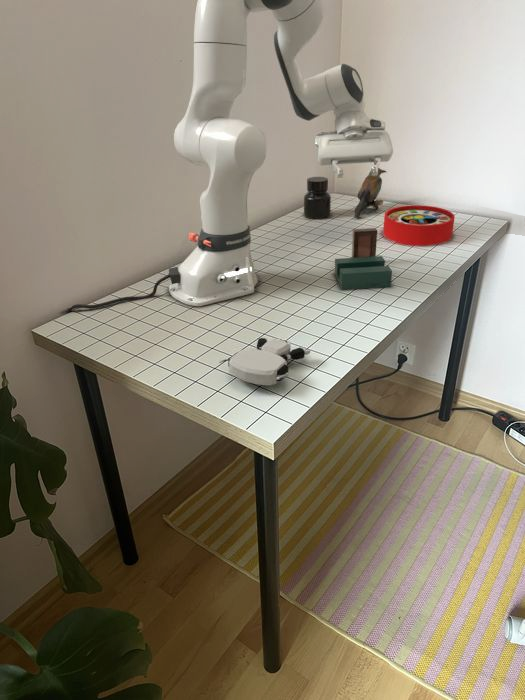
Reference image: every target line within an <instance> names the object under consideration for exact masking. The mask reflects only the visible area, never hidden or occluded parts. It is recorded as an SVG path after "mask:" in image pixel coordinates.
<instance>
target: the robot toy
mask: <svg viewBox="0 0 525 700" xmlns="http://www.w3.org/2000/svg"><path fill="white" fill-rule="evenodd" d="M291 347H292V346H291V341H290V340H285V339H282V338H271V339H268V338H267V337H259V338H258V340H257V342H256V349H255V348H245V349H241V350H239V351H236V352H235V353H234V354H233V355H231V356H229V357H228V358H225V359H220V360H219V361H218V363H219V364H222V363H224V362H227V363H228V364H227V365H228V366H227V367H228V370H229V371H228V372H229V373H230V374H231V375H232V376H234V377H235V378H237V379H239V380H241V381H243V382H245V383H248V384H249V383H250V384H255V385H259V386H272V385H276V384H277V383H280V382H282V381H283V380H284V379H285V378H286V377H289V374H290V373H289V366H288V361H289V360H294V361H298V360H302V359H304V358H305V356H308V355H310V354H311V350H310V349H308V348H307V347H296V348H294V349H292V348H291Z"/></svg>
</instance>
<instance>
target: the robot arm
mask: <svg viewBox="0 0 525 700" xmlns="http://www.w3.org/2000/svg"><path fill="white" fill-rule="evenodd" d="M265 11H271V13H272V15H273V17H274V19H275V22H276V24H277V29H276V31H275V33H274V34H273V46H274V51H275V55H276V57H277V61H278V64H279V67H280V70H281V73H282V76H283V79H284V81H285V85H286V87H287V91H288V94H289V98H290V100H291V105H292V109H293V111H294V113H295V115H296V116H297V117H298V118H300V119H302V120H305V121H312V120H314V119H315V118H318V117H319V116H321V115H324V114H325V113H328V112H331V111H332V113H333V115H334V118H335V119H334V131H321V132H320V133H318V134H316V136H315V137H314V143H315V146H316V147H317V163H318V164H319V165H320V166H331V169H332V170H333V171H334V173H336V178H337V179H340V178H344V169H343V168H340V167H339V165H351V164H369V163H373V165H374V166H372V167H371V169H370V171H371V173H372V174H371V175H372V176H377V175H378V168H379V166H380V164H381V163H383V162H384V163H387V162H389V161H390V160H391V158H392V156H393V154H394V148H393V143H392V139H391V136H390V134H389V132H388V131H386V122H385V121H384V120H380V119H376V118H371V117H369V116H367V114H366V112H365V108H366V102H365V97H364V87H363V83H362V79H361V77H360V74H359V72H358V71H357V70H356V68H354V67H352V66H351V65H349V64H346V63H341V64H338V65H336V66H333V67H331V68H329V69H327V70H325V71H322V72H320V73H318V74H315V75H313V76H311V77H307V78H304V77H303V76H302V74H301V70H300V67H299V64H298V61H297V56H298V55H299V53H300V52H301V51H302V50H303V49H304V48H305V47H306V46H307V45H308V44H309V43H310V42H311V41H312V40H313V39H314V38H315V37H316V35H317V34H318V32H319V31H320V29H321V27H322V25H323V21H324V16H325V7H324V3H323V0H197V1H196V7H195V15H194V27H193V29H194V30H193V76H192V77H193V79H192V89H191V93H190V98H189V102H188V105H187V108H186V111H185V114H184V115H183V118H182V119H181V120H180V121H179V122H178V123H177V125H176V127H175V129H174V133H173V144H174V147H175V151H176V152H177V153H178V155H180V157H182V158H183V159H185V160H186V161H188V162H189V163H191V164H193V165H196V166H199V167H206V168H209V171H210V172H209V173H210V174H209V175H210V176H209V183H208V186H207V188H206V189H204V190H203V191H202V193H200V195H199V196H200V197H199V208H200V218H201V229H200V232H199V234H198V233H195V232H189V233H188V237H187V238H188V240H189V241H191V242H193V243H196V244H197V246H196V247H195V248H194V249H193V250H192V252H191V253H190V254H189V255H188V256H187V257H186V258H185V259H184V261H183V262H182V263H181V264H180V265H179V266H176V267H169V268H168V273H169V274H167V275H165V276H163V277H161V278H159V279H158V280H157V281H156V282H155V284H154V285H153V288H152V289H153V290H152V291H151V292H150V293H148V294H146V295H142V296H123V297H118V298H115V299H111V300H108V301H104V302H100V303H96V304H83V303H78V304H72V305H73V306H72V305H71V306H72V307H71V308H69V307H67V309H66V310H65V313H70V312H71V311H72V310H74V309H97V308H102V307H106V306H109V305H112V304H115V303H120V302H125V301H136V300H143V299H144V300H145V299H149V298H152V297H153V296H154V295H156V293H157V290H158V286H159V285H160V284H161V283H163V282H164V281H166V280H168V279H170V282H171V284H170V285H169V286H168V291H169V294H170V296H171V297H172V298H174V299H175V300H177V301H178V302H180V303H183V304H185V305H189V306H191V307H203V306H207V305H211V304H215V303H219V302H223V301H226V300H230V299H234V298H238V297H239V298H240V297H243V296H245V295H246V296H247V295H250V294H254V293H255V287H256V285H257V283H258V281H259V280H258V277H257V275H256V270H255V268H254V264H253V259H252V253H251V241H252V238H251V237H252V236H251V227H250V225H249V215H248V194H249V188H250V185H251V181H252V178H253V176H254V174H255V172H257V171H258V170H259V169H260V168H261V167H262V165H263V164H264V162H265V160H266V157H267V153H268V141H267V137H266V135H265V133H264V132H263V130H262V129H261V128H260V127H259V126H257V125H255V124H252V123H250V122H248V121H245V120H243V119H237V118H230V116H231V111H232V107H233V105H234V102H235V101H236V99H237V97H239V96H240V95H241V94H242V93H243V91H244V90H245V87H246V83H247V60H248V59H247V57H248V56H247V55H248V23H247V20H248V16H249V13H259V12H265Z"/></svg>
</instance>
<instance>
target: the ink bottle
mask: <svg viewBox="0 0 525 700" xmlns="http://www.w3.org/2000/svg"><path fill="white" fill-rule="evenodd" d="M306 189H307V192H306V193H305V194H304V196H303V216H304V217H305V218H307V219H313V220H314V219H315V220H316V219H319V220H321V219H326V218H329V217H330V216H331V208H332V204H331V203H332V201H331V200H332V196H331V194H330V192H329V191H328V189H329V178H327V177H325V176H311V177H307V179H306Z"/></svg>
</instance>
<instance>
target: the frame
mask: <svg viewBox="0 0 525 700" xmlns="http://www.w3.org/2000/svg"><path fill="white" fill-rule="evenodd" d="M351 241H352V243H351V258H357V257H374V256H377V241H378V229H377V228H376V227H369V228H354V229H352V239H351Z"/></svg>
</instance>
